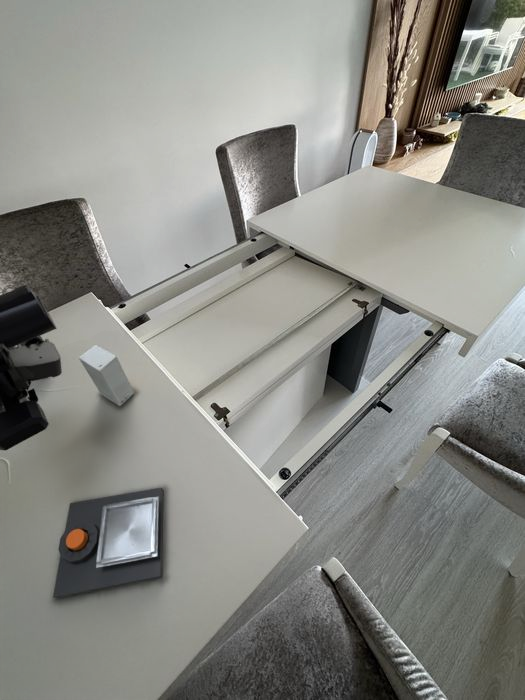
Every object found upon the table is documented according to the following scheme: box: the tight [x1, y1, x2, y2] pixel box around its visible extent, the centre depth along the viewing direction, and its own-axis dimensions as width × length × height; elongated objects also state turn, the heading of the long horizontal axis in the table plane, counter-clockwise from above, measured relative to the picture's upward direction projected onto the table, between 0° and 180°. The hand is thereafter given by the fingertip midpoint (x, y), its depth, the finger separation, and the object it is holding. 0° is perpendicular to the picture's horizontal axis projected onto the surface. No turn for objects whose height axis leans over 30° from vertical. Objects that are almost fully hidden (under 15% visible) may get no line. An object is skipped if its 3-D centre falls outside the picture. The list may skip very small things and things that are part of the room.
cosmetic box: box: [78, 344, 135, 407], centre depth 69 cm, size 6×4×12 cm
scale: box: [52, 487, 165, 599], centre depth 54 cm, size 15×13×3 cm
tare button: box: [66, 529, 88, 550], centre depth 52 cm, size 3×3×2 cm
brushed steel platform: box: [96, 497, 159, 568], centre depth 53 cm, size 9×9×1 cm
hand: (34, 418), depth 57 cm, fingers closed
